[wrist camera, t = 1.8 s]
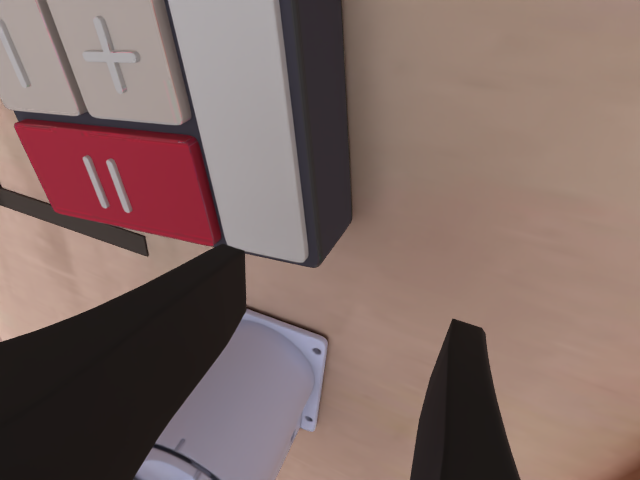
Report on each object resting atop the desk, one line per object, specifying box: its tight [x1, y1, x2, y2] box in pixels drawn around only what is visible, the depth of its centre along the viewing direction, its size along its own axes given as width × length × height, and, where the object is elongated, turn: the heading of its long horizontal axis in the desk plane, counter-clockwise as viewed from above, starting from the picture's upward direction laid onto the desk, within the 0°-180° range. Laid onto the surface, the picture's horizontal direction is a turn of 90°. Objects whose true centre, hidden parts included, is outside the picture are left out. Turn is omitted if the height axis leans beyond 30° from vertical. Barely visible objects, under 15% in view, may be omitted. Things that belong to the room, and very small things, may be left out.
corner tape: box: [0, 186, 148, 256], centre depth 23 cm, size 20×13×1 cm, turn 175°
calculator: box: [0, 0, 352, 268], centre depth 19 cm, size 11×4×15 cm
